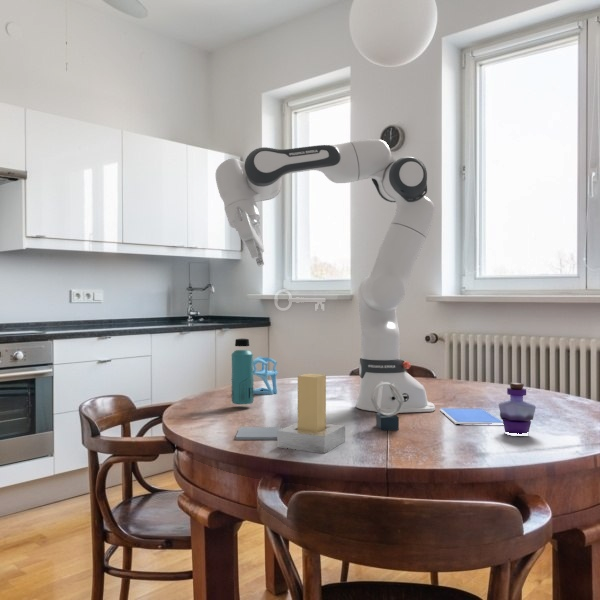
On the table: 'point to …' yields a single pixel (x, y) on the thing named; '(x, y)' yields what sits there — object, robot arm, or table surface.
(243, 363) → the beverage bottle
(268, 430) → the slate mat
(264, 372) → the chair
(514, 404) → the potion bottle
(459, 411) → the tablet computer
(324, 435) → the socket block
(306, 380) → the ochre peg
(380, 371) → the robot arm
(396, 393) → the glass trophy
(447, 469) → the table surface
